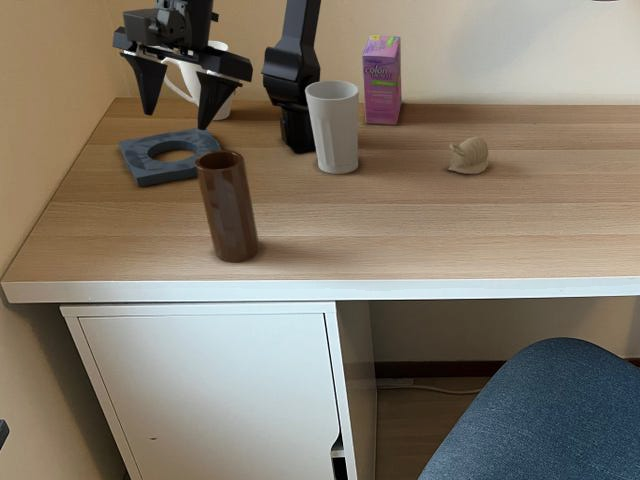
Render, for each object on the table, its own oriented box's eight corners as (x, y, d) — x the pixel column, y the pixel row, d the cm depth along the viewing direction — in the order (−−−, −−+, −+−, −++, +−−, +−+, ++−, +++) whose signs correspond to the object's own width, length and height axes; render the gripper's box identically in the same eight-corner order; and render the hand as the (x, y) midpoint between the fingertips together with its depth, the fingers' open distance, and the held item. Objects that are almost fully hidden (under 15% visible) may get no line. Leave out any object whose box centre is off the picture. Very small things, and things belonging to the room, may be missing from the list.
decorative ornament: (495, 167, 126) (497, 135, 123) (455, 181, 122) (455, 149, 118) (479, 158, 128) (481, 127, 125) (439, 171, 124) (439, 139, 121)
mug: (243, 106, 141) (232, 40, 133) (238, 124, 135) (225, 57, 127) (175, 106, 140) (160, 40, 132) (166, 125, 133) (149, 57, 126)
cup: (371, 159, 127) (367, 85, 119) (350, 179, 121) (344, 103, 113) (327, 150, 128) (320, 76, 120) (304, 170, 123) (295, 94, 115)
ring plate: (207, 134, 131) (206, 125, 130) (232, 169, 122) (230, 160, 121) (118, 150, 126) (116, 141, 125) (137, 188, 117) (134, 178, 116)
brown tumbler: (252, 235, 108) (235, 146, 99) (265, 256, 104) (249, 165, 95) (210, 245, 106) (189, 155, 97) (222, 266, 102) (201, 174, 93)
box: (397, 125, 137) (395, 56, 129) (365, 124, 137) (360, 54, 129) (402, 102, 145) (400, 35, 137) (372, 101, 144) (368, 34, 136)
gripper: (83, -36, 94) (71, 97, 99) (202, -11, 89) (184, 129, 93) (152, -8, 105) (139, 111, 109) (264, 15, 99) (245, 140, 103)
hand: (174, 122), depth 103 cm, fingers open, 9 cm apart
